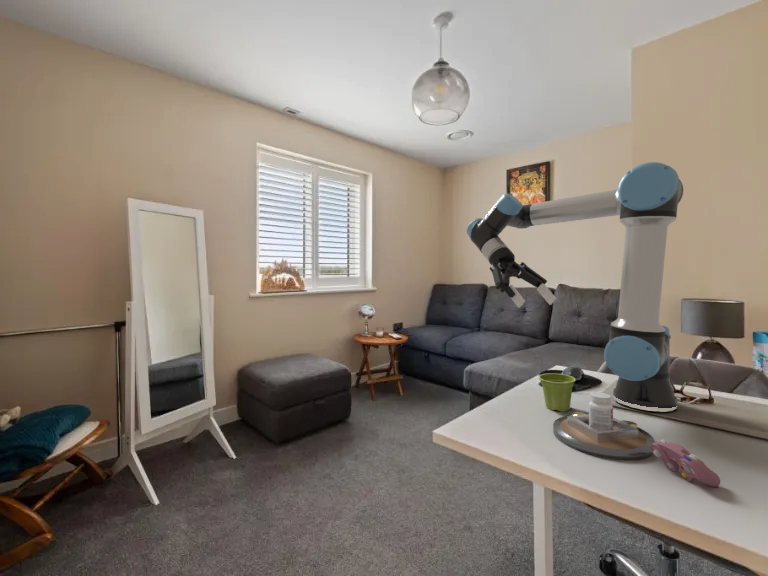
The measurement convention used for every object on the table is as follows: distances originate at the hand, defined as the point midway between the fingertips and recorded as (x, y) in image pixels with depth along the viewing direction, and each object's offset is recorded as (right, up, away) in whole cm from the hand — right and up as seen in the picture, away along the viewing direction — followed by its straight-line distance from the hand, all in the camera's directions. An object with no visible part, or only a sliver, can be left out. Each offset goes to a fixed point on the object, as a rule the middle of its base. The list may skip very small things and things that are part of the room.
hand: (538, 303), depth 104 cm
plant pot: (+4, -30, -2) cm, 30 cm away
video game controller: (+11, -31, -37) cm, 49 cm away
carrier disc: (+5, -30, -21) cm, 37 cm away
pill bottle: (+5, -29, -21) cm, 36 cm away
